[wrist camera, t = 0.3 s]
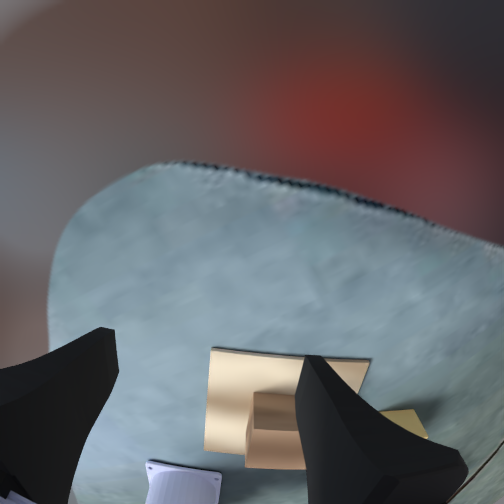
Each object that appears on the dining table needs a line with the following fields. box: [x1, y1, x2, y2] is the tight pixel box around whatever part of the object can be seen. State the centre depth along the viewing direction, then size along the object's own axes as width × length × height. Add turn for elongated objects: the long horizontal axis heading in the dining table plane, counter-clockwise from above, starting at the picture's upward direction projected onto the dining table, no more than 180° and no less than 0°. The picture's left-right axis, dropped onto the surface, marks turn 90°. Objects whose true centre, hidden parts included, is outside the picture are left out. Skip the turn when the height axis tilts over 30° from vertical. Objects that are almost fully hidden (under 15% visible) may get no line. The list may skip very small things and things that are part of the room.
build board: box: [204, 348, 369, 455], centre depth 24 cm, size 12×12×1 cm
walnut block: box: [245, 392, 306, 469], centre depth 22 cm, size 5×5×4 cm
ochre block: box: [380, 409, 428, 439], centre depth 23 cm, size 4×4×4 cm
